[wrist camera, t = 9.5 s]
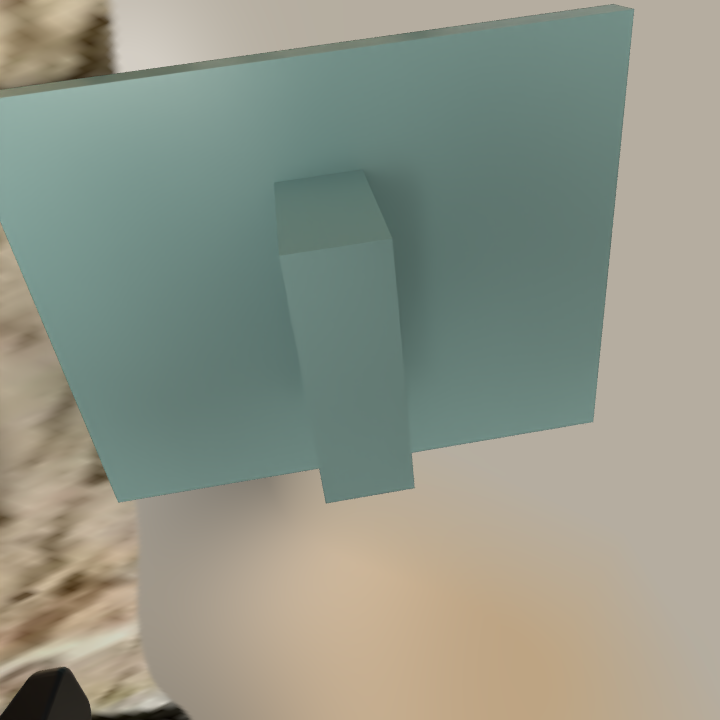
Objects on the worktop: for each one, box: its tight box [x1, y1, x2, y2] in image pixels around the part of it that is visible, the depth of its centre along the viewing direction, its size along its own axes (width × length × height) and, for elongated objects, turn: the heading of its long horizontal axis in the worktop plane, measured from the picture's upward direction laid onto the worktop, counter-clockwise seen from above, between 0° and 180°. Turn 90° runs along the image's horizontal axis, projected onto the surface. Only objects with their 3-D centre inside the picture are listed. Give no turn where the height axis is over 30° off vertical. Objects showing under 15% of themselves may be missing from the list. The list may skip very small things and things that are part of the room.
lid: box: [0, 4, 634, 503], centre depth 16 cm, size 11×14×6 cm
